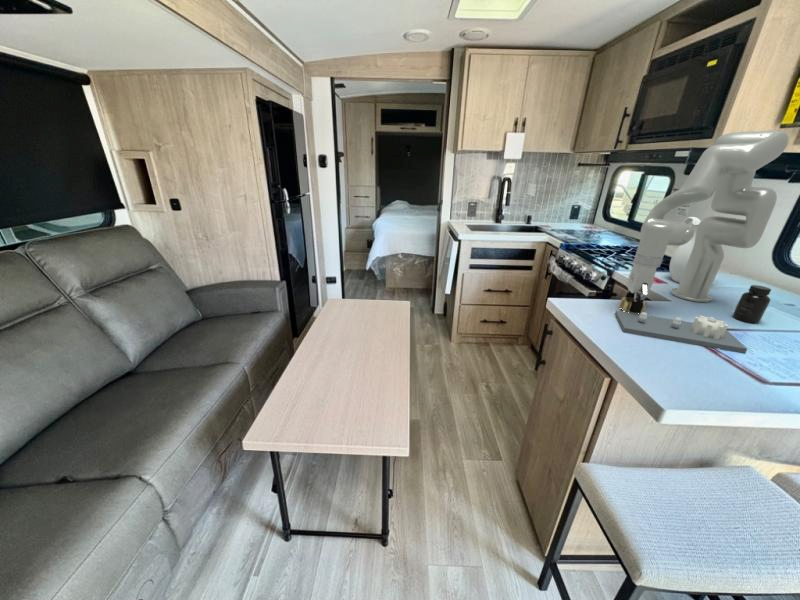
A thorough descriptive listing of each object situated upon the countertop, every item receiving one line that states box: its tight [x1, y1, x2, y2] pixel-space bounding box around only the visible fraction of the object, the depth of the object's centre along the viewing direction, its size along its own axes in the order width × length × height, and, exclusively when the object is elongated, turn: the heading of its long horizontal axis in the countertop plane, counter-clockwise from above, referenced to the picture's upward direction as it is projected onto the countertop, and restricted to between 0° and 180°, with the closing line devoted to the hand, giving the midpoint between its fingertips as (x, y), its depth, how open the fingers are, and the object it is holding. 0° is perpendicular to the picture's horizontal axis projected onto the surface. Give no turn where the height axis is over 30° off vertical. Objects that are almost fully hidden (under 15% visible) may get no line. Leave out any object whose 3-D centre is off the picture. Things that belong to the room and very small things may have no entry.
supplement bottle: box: [732, 284, 772, 324], centre depth 111 cm, size 7×7×12 cm
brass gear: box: [618, 296, 647, 314], centre depth 117 cm, size 8×8×4 cm
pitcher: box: [669, 216, 723, 284], centre depth 146 cm, size 24×17×28 cm
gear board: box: [614, 310, 748, 354], centre depth 103 cm, size 14×30×6 cm, turn 68°
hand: (631, 307), depth 117 cm, fingers closed on brass gear, 7 cm apart
